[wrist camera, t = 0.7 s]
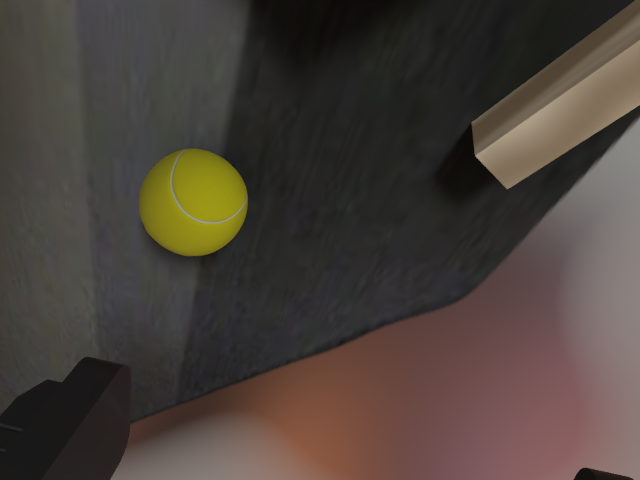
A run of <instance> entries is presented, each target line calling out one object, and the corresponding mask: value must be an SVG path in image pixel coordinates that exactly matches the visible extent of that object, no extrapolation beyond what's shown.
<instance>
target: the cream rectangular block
mask: <svg viewBox="0 0 640 480" xmlns="http://www.w3.org/2000/svg"><path fill="white" fill-rule="evenodd" d="M639 105H640V0H635V1H634V2H632V3H631V4H630V5H628V6H627V7H626V8H624V9H623V10H622V11H620V12H619V13H618V14H616V15H615V16H614V17H612V18H611V19H610V20H608V21H607V22H606V23H604V24H603V25H602V26H600V27H599V28H598V29H596V30H595V31H594V32H592V33H591V34H590V35H588V36H587V37H586V38H584V39H583V40H581V41H580V42H579V43H577V44H576V45H575V46H573V47H572V48H571V49H569V50H568V51H567V52H565V53H564V54H563V55H561V56H560V57H559V58H557V59H556V60H555V61H553V62H552V63H551V64H549V65H548V66H547V67H545V68H544V69H543V70H541V71H540V72H539V73H537V74H536V75H535V76H533V77H532V78H531V79H529V80H528V81H527V82H525V83H524V84H523V85H521V86H520V87H519V88H517V89H516V90H514V91H513V92H512V93H510V94H509V95H508V96H506V97H505V98H504V99H502V100H501V101H500V102H498V103H497V104H496V105H494V106H493V107H492V108H490V109H489V110H488V111H486V112H485V113H484V114H482V115H481V116H480V117H478V118H477V119H476V120H474V121H473V122H472V132H473V141H474V151H475V156H476V157H477V158H478V159H479V161H480V162H481V163H482V164H483V165H484V166H485V167H486V168H487V169H488V170H489V171H490V172H491V173H492V174H493V175H494V176H495V177H496V178H497V179H498V180H499V181H500V182H501V183H502V184H503V185H504V186H505V187H506V188H507V189H509V188H510V187H512V186H514V185H515V184H517V183H518V182H520V181H521V180H523V179H524V178H526V177H528V176H529V175H531V174H532V173H534V172H535V171H537V170H539V169H540V168H542V167H543V166H545V165H546V164H548V163H550V162H551V161H553V160H554V159H556V158H557V157H559V156H561V155H562V154H564V153H565V152H567V151H568V150H570V149H571V148H573V147H575V146H576V145H578V144H579V143H581V142H582V141H584V140H586V139H587V138H589V137H590V136H592V135H593V134H595V133H597V132H598V131H600V130H601V129H603V128H604V127H606V126H607V125H609V124H611V123H612V122H614V121H615V120H617V119H618V118H620V117H622V116H623V115H625V114H626V113H628V112H629V111H631V110H633V109H634V108H636V107H637V106H639Z"/></svg>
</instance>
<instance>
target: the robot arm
mask: <svg viewBox="0 0 640 480" xmlns="http://www.w3.org/2000/svg"><path fill="white" fill-rule="evenodd" d="M130 387H131V372H130V368H129V367H128V366H127V365H123V364H118V363H114V362H109V361H105V360H100V359H96V358H91V357H85V358H83V359H82V360H81V361H80V362H79V363H78V364H77V365H76V366H75V368H74V369H73V370H72V371H71V372H70V374H69V375H68V376H67V377H66V378H65V380H64V381H63V382H62V383H61V382H56V381H52V380H45V381H44V382H42V383H40V384H39V385H37V386H35V387H34V388H32V389H30V390H28V391H27V392H25V393H23V394H22V395H20V396H18V397H17V398H16V399H15V400H14V401H13V402H12V403H11V405H10V406H9V407H8V408H7V409H6V410H5V411H4V412H3V413H2V415H1V416H0V480H110V479H111V477H112V475H113V473H114V472H115V470H116V468H117V466H118V465H119V463H120V461H121V459H122V456H123V454H124V451H125V448H126V445H127V442H128V437H129V432H130ZM574 480H633V479H632V478H630V477H626V476H622V475H617V474H612V473H608V472H603V471H598V470H594V469H589V468H582V469H581V470H580V471H579V472H578V473H577V475H576V476H575V479H574Z"/></svg>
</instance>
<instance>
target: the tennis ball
mask: <svg viewBox="0 0 640 480" xmlns="http://www.w3.org/2000/svg"><path fill="white" fill-rule="evenodd" d="M247 206H248V195H247V190H246V186H245V184H244V182H243V179H242V178H241V176H240V175H239V173H238V172H237V171H236V169H235V168H234V167H233V166H232V165H231V164H230V163H229V162H227V161H226V160H225V159H223V158H222V157H220V156H218V155H216V154H214V153H212V152H209V151H206V150H202V149H183V150H179V151H176V152H174V153H171V154H169V155H167V156H166V157H164V158H163V159H161V160H160V161H159V162H158V163H157V164H156V165H155V166H154V167H153V168H152V169H151V170H150V172H149V173H148V175H147V176H146V178H145V180H144V182H143V184H142V187H141V191H140V196H139V213H140V217H141V220H142V222H143V225H144V227H145V229H146V231H147V232H148V233H149V235H150V236H151V237H152V238H153V239H154V240H155V241H156V242H158V243H159V244H160V245H161V246H163V247H164V248H166V249H168V250H170V251H172V252H174V253H177V254H180V255H184V256H202V255H207V254H210V253H212V252H215V251H217V250H219V249H220V248H222V247H224V246H225V245H226V244H227V243H229V242H230V241H231V240H232V239H233V238H234V236H235V235H236V234H237V233H238V231H239V230H240V228H241V226H242V224H243V222H244V219H245V216H246V212H247Z"/></svg>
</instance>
